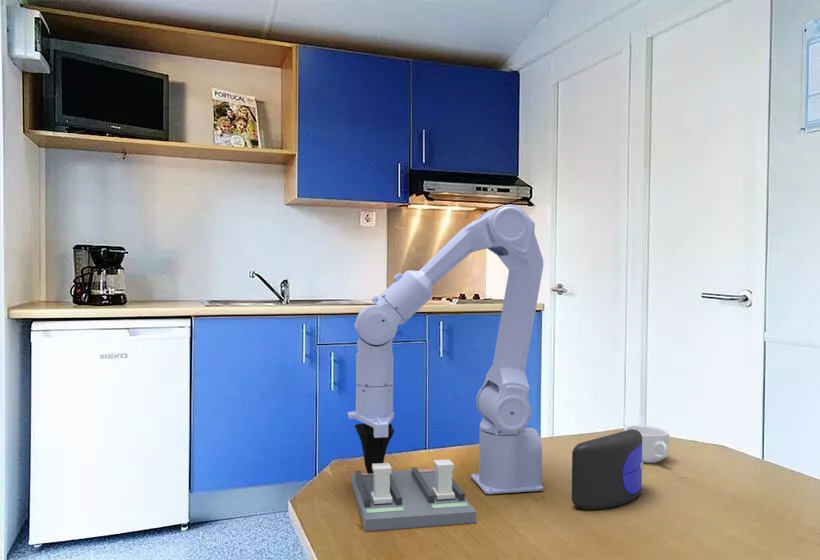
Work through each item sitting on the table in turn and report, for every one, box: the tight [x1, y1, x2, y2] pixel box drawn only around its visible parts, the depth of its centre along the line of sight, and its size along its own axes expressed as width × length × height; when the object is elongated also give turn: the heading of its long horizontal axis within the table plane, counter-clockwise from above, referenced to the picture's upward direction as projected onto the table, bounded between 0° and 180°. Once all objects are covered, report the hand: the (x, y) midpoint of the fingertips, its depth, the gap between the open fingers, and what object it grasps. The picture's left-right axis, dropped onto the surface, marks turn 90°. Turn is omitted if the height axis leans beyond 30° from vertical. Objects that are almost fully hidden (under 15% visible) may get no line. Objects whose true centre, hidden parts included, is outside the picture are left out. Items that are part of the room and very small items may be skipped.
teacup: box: [623, 424, 670, 464], centre depth 105 cm, size 10×8×5 cm
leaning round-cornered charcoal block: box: [571, 429, 644, 511], centre depth 86 cm, size 16×5×9 cm, turn 128°
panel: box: [350, 467, 477, 532], centre depth 85 cm, size 15×18×2 cm
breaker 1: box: [371, 462, 393, 504], centre depth 81 cm, size 3×3×5 cm
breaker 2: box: [432, 459, 455, 500], centre depth 83 cm, size 3×3×5 cm
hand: (373, 471), depth 89 cm, fingers closed
